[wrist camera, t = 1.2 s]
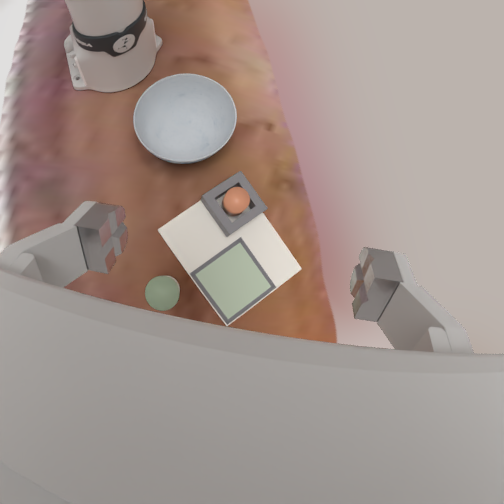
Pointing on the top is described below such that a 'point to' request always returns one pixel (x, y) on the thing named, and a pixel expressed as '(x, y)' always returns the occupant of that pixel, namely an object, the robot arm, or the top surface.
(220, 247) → the white board
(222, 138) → the chinaware
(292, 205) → the top surface
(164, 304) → the marker
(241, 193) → the button
